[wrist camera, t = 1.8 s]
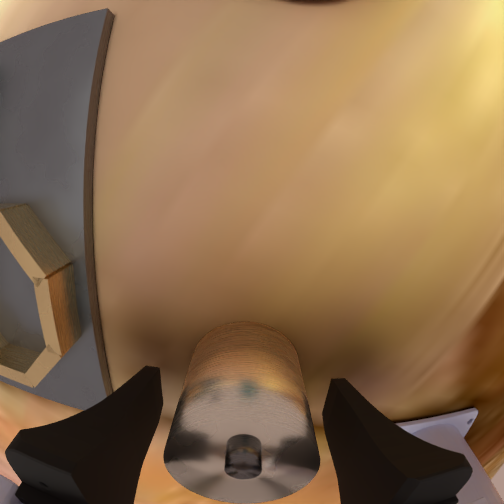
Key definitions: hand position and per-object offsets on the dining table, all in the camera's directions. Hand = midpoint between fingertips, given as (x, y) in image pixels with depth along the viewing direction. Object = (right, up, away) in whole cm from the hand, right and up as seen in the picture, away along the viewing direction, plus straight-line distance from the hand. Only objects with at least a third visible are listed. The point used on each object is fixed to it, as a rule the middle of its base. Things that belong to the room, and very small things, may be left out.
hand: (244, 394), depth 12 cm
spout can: (0, +1, +2) cm, 2 cm away
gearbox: (-14, +7, 0) cm, 16 cm away
